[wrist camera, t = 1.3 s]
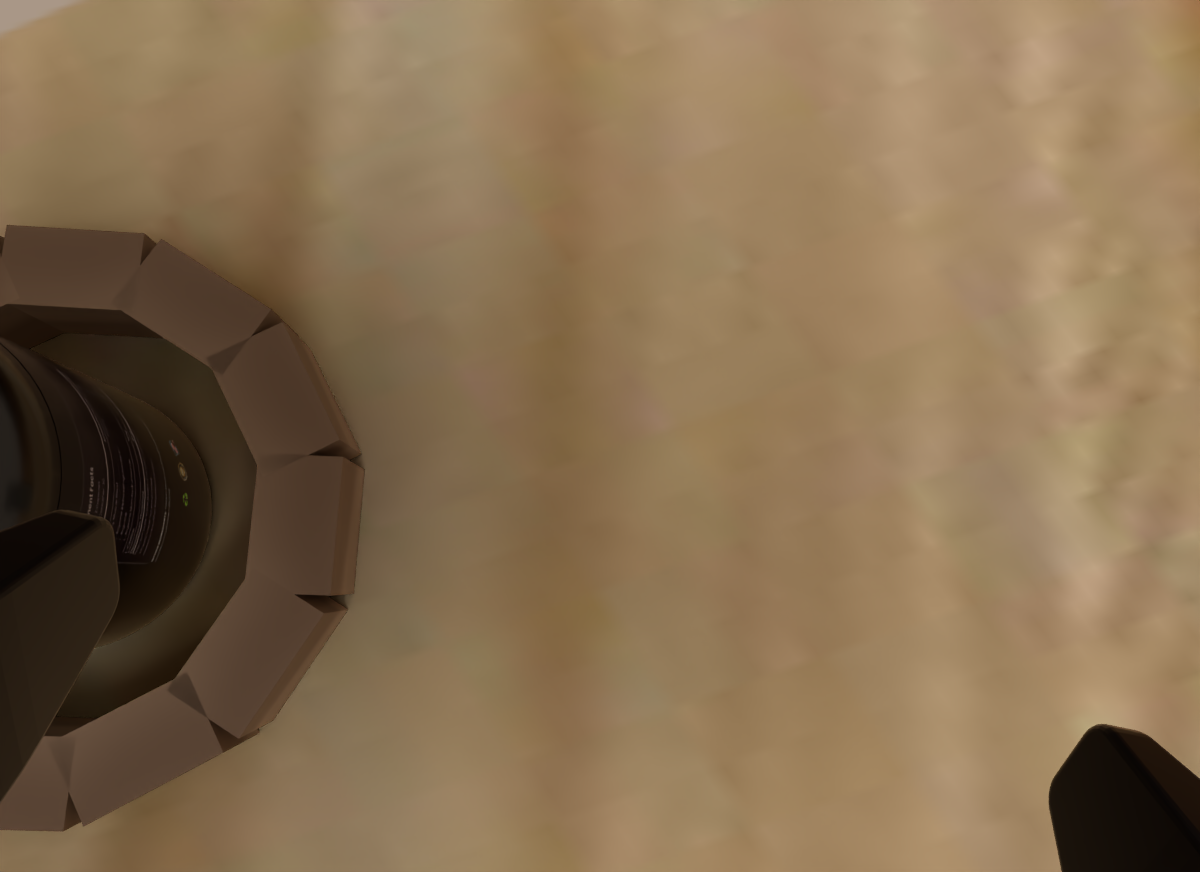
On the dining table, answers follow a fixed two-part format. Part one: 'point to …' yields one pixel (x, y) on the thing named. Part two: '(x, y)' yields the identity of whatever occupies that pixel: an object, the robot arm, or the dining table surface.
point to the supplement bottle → (104, 476)
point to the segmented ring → (278, 527)
